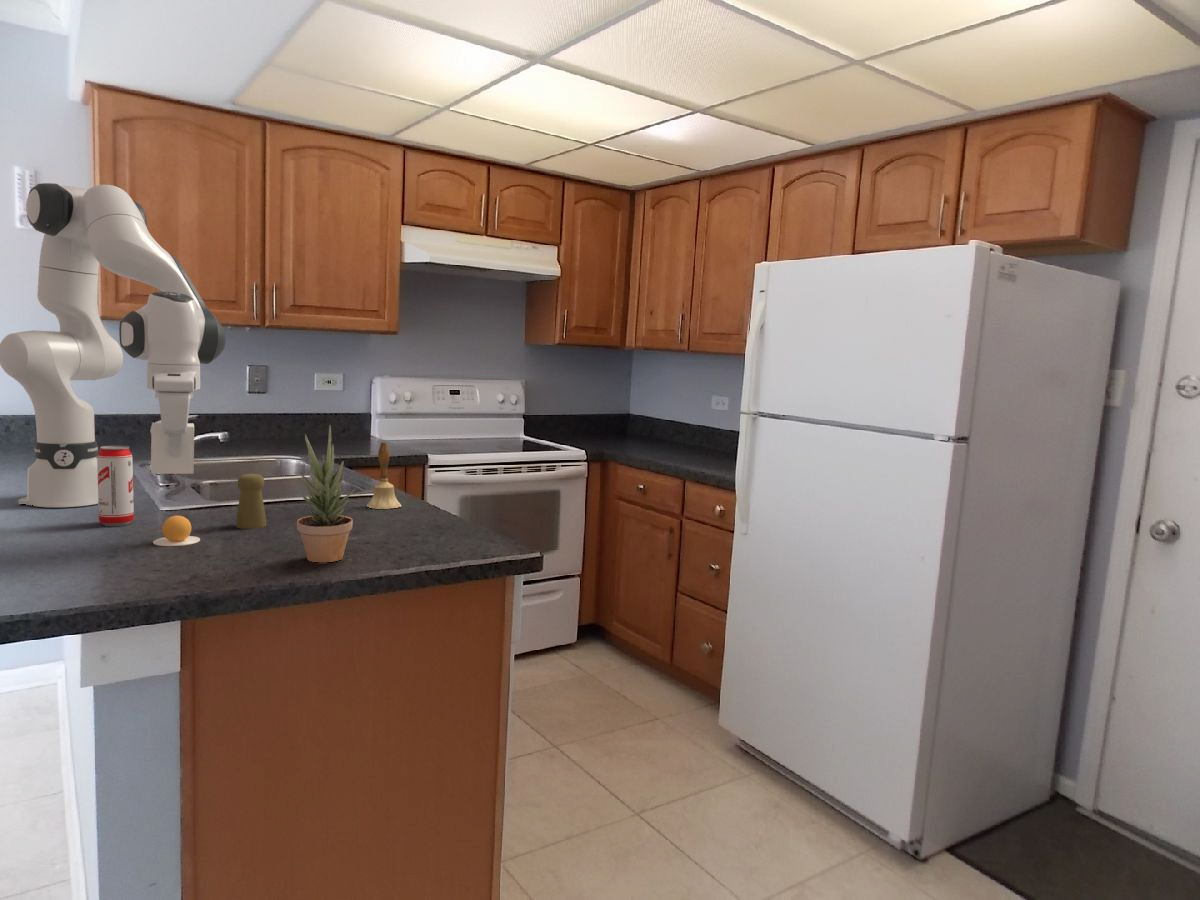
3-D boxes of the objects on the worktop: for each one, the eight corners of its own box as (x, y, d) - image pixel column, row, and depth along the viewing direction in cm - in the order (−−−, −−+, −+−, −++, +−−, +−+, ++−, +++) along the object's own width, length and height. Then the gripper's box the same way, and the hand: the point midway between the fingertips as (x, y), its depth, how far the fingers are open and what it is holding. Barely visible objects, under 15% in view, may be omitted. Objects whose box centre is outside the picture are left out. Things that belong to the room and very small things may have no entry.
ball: (192, 513, 158) (190, 538, 158) (163, 513, 155) (161, 538, 156) (192, 518, 153) (190, 544, 154) (162, 518, 151) (160, 544, 151)
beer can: (129, 519, 172) (127, 444, 170) (137, 524, 167) (136, 448, 165) (95, 522, 167) (93, 446, 165) (103, 528, 163) (101, 449, 161)
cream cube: (151, 468, 154) (152, 422, 154) (192, 468, 158) (193, 423, 157) (150, 473, 148) (151, 425, 147) (193, 473, 152) (194, 426, 151)
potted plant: (298, 567, 140) (298, 426, 137) (295, 554, 149) (295, 421, 146) (358, 564, 144) (359, 426, 141) (351, 551, 153) (352, 421, 150)
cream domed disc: (153, 538, 156) (153, 537, 156) (199, 535, 160) (199, 534, 160) (152, 547, 149) (152, 546, 149) (200, 544, 153) (200, 543, 153)
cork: (257, 521, 175) (257, 471, 174) (272, 526, 171) (272, 474, 170) (230, 525, 170) (229, 473, 169) (244, 530, 167) (244, 477, 165)
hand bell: (382, 511, 192) (383, 444, 190) (359, 506, 196) (359, 441, 195) (408, 507, 199) (409, 442, 197) (385, 502, 203) (386, 439, 202)
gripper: (155, 377, 159) (157, 446, 160) (153, 381, 141) (155, 460, 143) (191, 377, 162) (192, 446, 163) (194, 382, 144) (195, 459, 145)
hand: (175, 453), depth 153 cm, fingers closed on cream cube, 7 cm apart
